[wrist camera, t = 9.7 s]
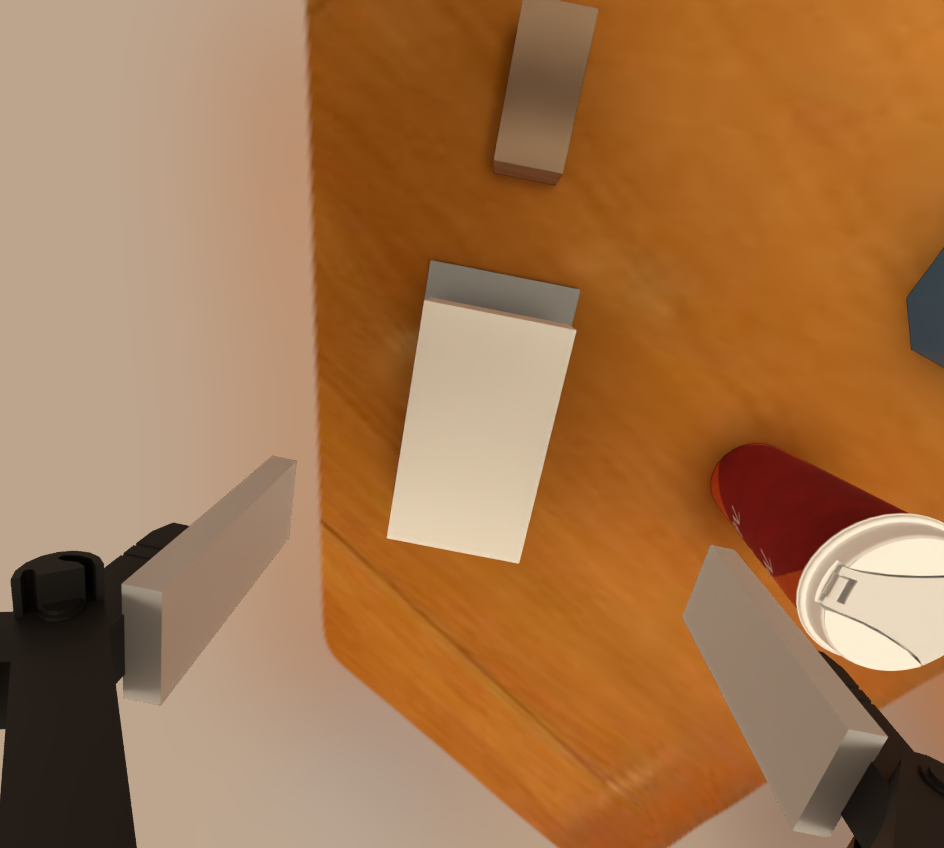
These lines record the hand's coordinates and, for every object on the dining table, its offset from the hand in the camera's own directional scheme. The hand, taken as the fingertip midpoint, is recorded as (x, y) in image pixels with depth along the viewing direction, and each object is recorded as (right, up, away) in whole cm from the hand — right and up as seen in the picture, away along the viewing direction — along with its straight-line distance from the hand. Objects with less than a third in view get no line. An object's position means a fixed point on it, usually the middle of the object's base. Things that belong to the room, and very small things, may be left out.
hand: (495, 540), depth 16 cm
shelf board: (0, +4, +15) cm, 16 cm away
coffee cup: (+20, -1, +22) cm, 30 cm away
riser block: (+3, +23, +16) cm, 28 cm away
